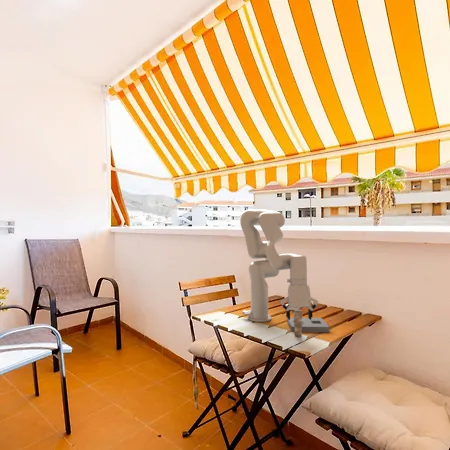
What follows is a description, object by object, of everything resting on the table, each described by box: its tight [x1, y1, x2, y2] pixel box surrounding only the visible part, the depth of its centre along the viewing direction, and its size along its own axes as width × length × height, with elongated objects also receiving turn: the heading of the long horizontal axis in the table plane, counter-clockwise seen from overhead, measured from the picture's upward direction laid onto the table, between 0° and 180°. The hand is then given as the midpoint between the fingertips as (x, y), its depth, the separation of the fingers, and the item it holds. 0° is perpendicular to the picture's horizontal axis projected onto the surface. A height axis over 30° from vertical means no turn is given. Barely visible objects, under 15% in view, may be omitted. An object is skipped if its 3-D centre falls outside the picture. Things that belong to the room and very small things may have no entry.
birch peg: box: [293, 309, 303, 338], centre depth 148 cm, size 4×4×12 cm
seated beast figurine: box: [285, 303, 302, 312], centre depth 193 cm, size 10×9×12 cm
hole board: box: [286, 317, 330, 333], centre depth 161 cm, size 18×14×2 cm
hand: (299, 318), depth 148 cm, fingers open, 9 cm apart
